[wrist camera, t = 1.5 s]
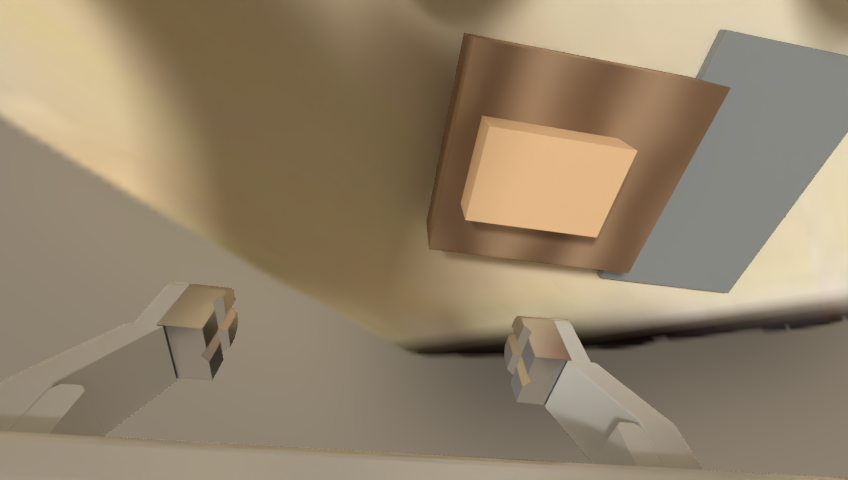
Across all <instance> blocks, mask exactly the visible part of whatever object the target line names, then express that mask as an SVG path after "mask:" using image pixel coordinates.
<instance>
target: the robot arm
mask: <svg viewBox="0 0 848 480" xmlns="http://www.w3.org/2000/svg"><path fill="white" fill-rule="evenodd" d="M235 300H236V299H235V294H234V290H232V289H231V288H225V287H217V286H208V285H200V284H188V283H180V282H172V283H169V284H167V286H166V287H165V288H164V289H163V290H162V291H161V292H160V293H159V295H158V296H157V297H156V298H155V299H154V300H153V301H152V302H151V304H150V305H149V306H148V307H147V308H146V309H145V310H144V312H143V313H142V314H141V315H140V316H139V317H138V318H137V320H136V321H135V322H134V323H133V324H131V323H126V324H124V325H121V326H119V327H117V328H115V329H113V330H110V331H109V332H106V333H104V334H102V335H100V336H98V337H95V338H93V339H91V340H89V341H87V342H85V343H82V344H80V345H78V346H76V347H74V348H72V349H69V350H67V351H65V352H63V353H61V354H58V355H56V356H54V357H52V358H50V359H48V360H45V361H43V362H41V363H39V364H37V365H34V366H33V367H31V368H28V369H26V370H24V371H22V372H19V373H17V374H15V375H13V376H11V377H8V378H7V379H6V380H4V381H3V382H2V383H1V384H0V480H848V478H843V477H825V476H806V475H787V474H767V473H750V472H732V471H714V470H703V469H702V467H701V466H700V464H699V463H698V461H697V459H696V458H695V456H694V455H693V453H692V452H691V450H690V448H689V447H688V445H687V444H686V442H685V440H684V439H683V437H682V436H681V434H680V433H679V431H678V429H677V428H676V426H675V425H674V424H673V423H672V422H670V421H669V420H668V419H666V418H665V417H664V416H663V415H661V414H660V413H659V412H658V411H656V410H655V409H654V408H653V407H651V406H650V405H649V404H648V403H646V402H645V401H644V400H642V399H641V398H640V397H639V396H637V395H636V394H635V393H633V392H632V391H631V390H630V389H628V388H627V387H626V386H624V385H623V384H622V383H621V382H619V381H618V380H617V379H616V378H614V377H613V376H612V375H611V374H609V373H608V372H607V371H606V370H604V369H603V368H602V367H600V366H599V365H598V364H596V363H591V361H590V359H589V358H588V356H587V354H586V352H585V350H584V348H583V346H582V344H581V342H580V340H579V338H578V336H577V334H576V333H575V331H574V329H573V327H572V325H571V323H570V322H569V321H568V320H563V319H546V318H535V317H524V316H517V317H516V318H515V319H514V322H513V324H512V328H513V331H514V333H513V334H511V335H510V336H509V337H508V338H507V341H506V344H505V353H504V356H505V364H506V368H507V370H508V371H509V372H510V373H511V374H512V375H513V377H512V379H511V382H510V383H511V386H512V390H513V394H514V397H515V400H516V402H518V403H528V404H538V405H545V408H546V409H547V410H548V411H549V412H550V413H551V415H552V416H553V417H554V418H555V419H556V420H557V422H558V423H559V424H560V425H561V427H562V428H563V429H564V430H565V431H566V432H567V434H568V435H569V436H570V437H571V438H572V440H573V441H574V442H575V443H576V444H577V446H578V447H579V448H580V449H581V450H582V451H583V453H584V454H585V455H586V456H587V457H588V458H589V460H590V461H591V462H592V464H589V463H571V462H570V463H569V462H553V461H536V460H535V461H534V460H518V459H500V458H481V457H463V456H445V455H426V454H407V453H389V452H373V451H354V450H337V449H319V448H300V447H284V446H266V445H247V444H229V443H212V442H192V441H175V440H157V439H140V438H122V437H106V436H105V435H106V434H107V433H108V432H110V431H111V430H112V429H114V428H115V427H116V426H117V425H119V424H120V423H122V422H123V421H124V420H125V419H127V418H128V417H130V416H131V415H132V414H133V413H135V412H136V411H137V410H139V409H140V408H141V407H143V406H144V405H145V404H147V403H148V402H149V401H151V400H152V399H153V398H155V397H156V396H157V395H159V394H160V393H161V392H163V391H164V390H165V389H167V388H168V387H169V386H171V385H172V384H173V383H175V382H176V381H177V379H193V380H213V378H214V376H215V374H216V372H217V371H218V369H219V367H220V365H221V363H222V361H223V354H222V352H223V351H224V350H226V349H227V348H229V347H230V346H231V344H232V342H233V340H234V338H235V334H236V331H237V326H238V316H237V312H236V311H235V310H234V309H233V308H232V305H233V304H234V302H235Z"/></svg>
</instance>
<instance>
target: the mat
mask: <svg viewBox="0 0 848 480" xmlns="http://www.w3.org/2000/svg"><path fill="white" fill-rule="evenodd" d="M696 79H699V80H703V81H707V82H711V83H715V84H718V85H722V86H726V87H730V88H731V89H730V90H729V92H728V94H727V96H726V98H725V99H724V101H723V103H722V105H721V107H720V108H719V110H718V112H717V114H716V116H715V118H714V119H713V121H712V123H711V125H710V127H709V128H708V130H707V132H706V134H705V136H704V137H703V139H702V141H701V143H700V145H699V147H698V148H697V150H696V152H695V154H694V156H693V157H692V159H691V161H690V163H689V165H688V166H687V168H686V170H685V172H684V174H683V176H682V177H681V179H680V181H679V183H678V185H677V186H676V188H675V190H674V192H673V194H672V195H671V197H670V199H669V201H668V203H667V205H666V206H665V208H664V210H663V212H662V214H661V215H660V217H659V219H658V221H657V223H656V224H655V226H654V228H653V230H652V232H651V234H650V235H649V237H648V239H647V241H646V243H645V244H644V246H643V248H642V250H641V252H640V253H639V255H638V257H637V259H636V261H635V263H634V264H633V266H632V268H631V270H630V272H629V273H622V272H614V271H606V270H599V272H598V275H599V276H600V278H606V279H614V280H622V281H631V282H639V283H648V284H656V285H664V286H673V287H681V288H690V289H698V290H706V291H715V292H723V293H729V291H730V290H731V289H732V287H733V286H734V285H735V283H736V282H737V280H738V279H739V278H740V276H741V275H742V274H743V272H744V271H745V270H746V268H747V267H748V266H749V264H750V263H751V262H752V260H753V259H754V258H755V256H756V255H757V254H758V252H759V251H760V249H761V248H762V247H763V245H764V244H765V243H766V241H767V240H768V239H769V237H770V236H771V235H772V233H773V232H774V231H775V229H776V228H777V227H778V225H779V224H780V223H781V221H782V220H783V218H784V217H785V216H786V214H787V213H788V212H789V210H790V209H791V208H792V206H793V205H794V204H795V202H796V201H797V200H798V198H799V197H800V196H801V194H802V193H803V192H804V190H805V189H806V187H807V186H808V185H809V183H810V182H811V181H812V179H813V178H814V177H815V175H816V174H817V173H818V171H819V170H820V169H821V167H822V166H823V165H824V163H825V162H826V160H827V159H828V158H829V156H830V155H831V154H832V152H833V151H834V150H835V148H836V147H837V146H838V144H839V143H840V142H841V140H842V139H843V138H844V136H845V135H846V134H847V132H848V56H846V55H841V54H837V53H832V52H827V51H823V50H818V49H813V48H808V47H804V46H799V45H794V44H790V43H785V42H780V41H776V40H771V39H766V38H762V37H757V36H752V35H747V34H743V33H738V32H733V31H729V30H720V31H719V33H718V35H717V37H716V39H715V41H714V43H713V45H712V47H711V49H710V51H709V53H708V55H707V57H706V59H705V61H704V63H703V65H702V67H701V69H700V71H699V73H698V75H697V77H696Z"/></svg>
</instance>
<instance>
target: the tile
mask: <svg viewBox="0 0 848 480" xmlns="http://www.w3.org/2000/svg"><path fill="white" fill-rule="evenodd" d="M636 153H637V150H636V149H634V148H632V147H631V146H629V145H628V144H626V143H625V142H623V141H621V140H620V139H618V138H612V137H606V136H600V135H595V134H589V133H583V132H577V131H571V130H565V129H559V128H553V127H547V126H541V125H535V124H529V123H523V122H517V121H511V120H505V119H499V118H493V117H487V116H482V118H481V122H480V126H479V130H478V134H477V138H476V142H475V147H474V151H473V155H472V159H471V163H470V167H469V171H468V175H467V179H466V183H465V188H464V192H463V196H462V200H461V206H462V210H463V214H464V217H465V220H468V221H476V222H484V223H491V224H499V225H506V226H514V227H521V228H529V229H536V230H544V231H551V232H559V233H566V234H574V235H581V236H589V237H596V238H597V236H598V234H599V232H600V230H601V227H602V225H603V223H604V221H605V219H606V217H607V215H608V213H609V211H610V208H611V206H612V204H613V202H614V200H615V198H616V196H617V194H618V191H619V189H620V187H621V185H622V183H623V181H624V179H625V177H626V174H627V172H628V170H629V168H630V166H631V164H632V162H633V160H634V157H635V155H636Z"/></svg>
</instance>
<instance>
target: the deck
mask: <svg viewBox="0 0 848 480" xmlns="http://www.w3.org/2000/svg"><path fill="white" fill-rule="evenodd" d="M730 89H731V88H730V87H726V86H722V85H718V84H715V83H711V82H707V81H703V80H699V79H696V78H692V77H687V76H682V75H677V74H672V73H667V72H662V71H656V70H651V69H646V68H641V67H636V66H631V65H625V64H620V63H615V62H610V61H605V60H600V59H595V58H589V57H584V56H579V55H574V54H569V53H564V52H558V51H553V50H548V49H543V48H538V47H533V46H527V45H522V44H517V43H512V42H507V41H502V40H497V39H491V38H486V37H481V36H476V35H471V34H466V33H464V37H463V42H462V47H461V52H460V57H459V62H458V67H457V72H456V77H455V82H454V87H453V92H452V97H451V102H450V107H449V112H448V117H447V122H446V127H445V132H444V137H443V143H442V148H441V153H440V158H439V163H438V168H437V173H436V178H435V183H434V188H433V193H432V198H431V203H430V208H429V213H428V218H427V232H428V243H429V249H434V250H442V251H450V252H458V253H466V254H475V255H483V256H491V257H499V258H507V259H516V260H524V261H532V262H540V263H548V264H557V265H565V266H573V267H581V268H589V269H598V270H606V271H614V272H622V273H629V272H630V270H631V268H632V266H633V264H634V263H635V261H636V259H637V257H638V255H639V253H640V252H641V250H642V248H643V246H644V244H645V243H646V241H647V239H648V237H649V235H650V234H651V232H652V230H653V228H654V226H655V224H656V223H657V221H658V219H659V217H660V215H661V214H662V212H663V210H664V208H665V206H666V205H667V203H668V201H669V199H670V197H671V195H672V194H673V192H674V190H675V188H676V186H677V185H678V183H679V181H680V179H681V177H682V176H683V174H684V172H685V170H686V168H687V166H688V165H689V163H690V161H691V159H692V157H693V156H694V154H695V152H696V150H697V148H698V147H699V145H700V143H701V141H702V139H703V137H704V136H705V134H706V132H707V130H708V128H709V127H710V125H711V123H712V121H713V119H714V118H715V116H716V114H717V112H718V110H719V108H720V107H721V105H722V103H723V101H724V99H725V98H726V96H727V94H728V92H729V90H730ZM482 116H487V117H493V118H499V119H505V120H511V121H517V122H523V123H529V124H535V125H541V126H547V127H553V128H559V129H565V130H571V131H577V132H583V133H589V134H595V135H600V136H606V137H612V138H618V139H620V140H621V141H623V142H625V143H626V144H628V145H629V146H631V147H632V148H634V149H636V150H637V153H636V155H635V157H634V160H633V162H632V164H631V166H630V168H629V170H628V172H627V174H626V177H625V179H624V181H623V183H622V185H621V187H620V189H619V191H618V194H617V196H616V198H615V200H614V202H613V204H612V206H611V208H610V211H609V213H608V215H607V217H606V219H605V221H604V223H603V225H602V227H601V230H600V232H599V234H598V236H597V238H596V237H589V236H581V235H574V234H566V233H559V232H551V231H544V230H536V229H529V228H521V227H514V226H506V225H499V224H491V223H484V222H476V221H468V220H465V217H464V214H463V210H462V206H461V200H462V196H463V192H464V188H465V183H466V179H467V175H468V171H469V167H470V163H471V159H472V155H473V151H474V147H475V142H476V138H477V134H478V130H479V126H480V122H481V118H482Z"/></svg>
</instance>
